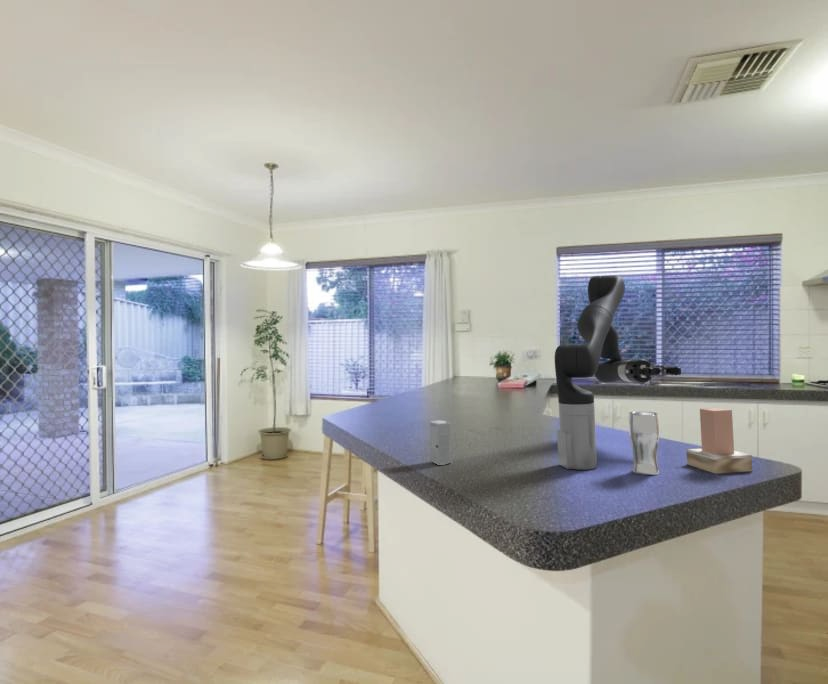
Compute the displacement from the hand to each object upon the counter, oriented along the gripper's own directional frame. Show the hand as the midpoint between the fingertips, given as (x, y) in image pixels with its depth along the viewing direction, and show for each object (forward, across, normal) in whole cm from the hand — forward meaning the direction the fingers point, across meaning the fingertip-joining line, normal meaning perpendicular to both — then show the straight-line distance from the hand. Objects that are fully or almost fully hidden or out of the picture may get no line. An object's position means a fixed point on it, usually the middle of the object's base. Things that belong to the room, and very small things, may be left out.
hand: (666, 371), depth 137 cm
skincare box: (-7, -66, +26) cm, 72 cm away
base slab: (+16, +3, +25) cm, 29 cm away
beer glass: (+16, -17, +25) cm, 34 cm away
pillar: (+16, +3, +21) cm, 26 cm away
